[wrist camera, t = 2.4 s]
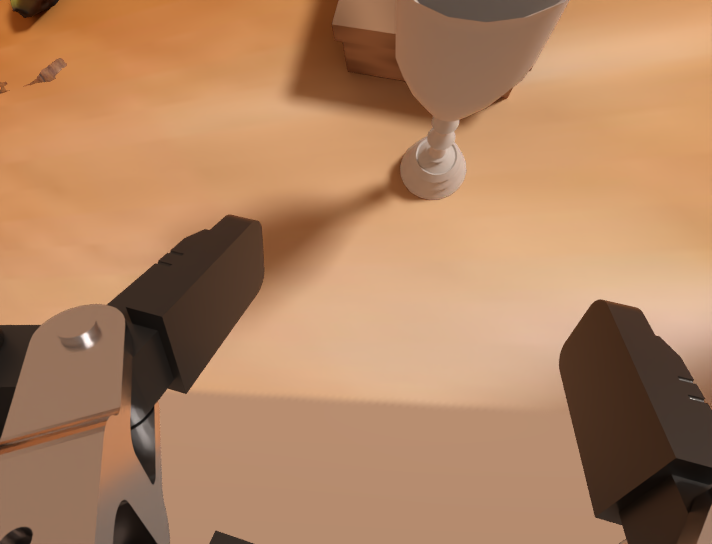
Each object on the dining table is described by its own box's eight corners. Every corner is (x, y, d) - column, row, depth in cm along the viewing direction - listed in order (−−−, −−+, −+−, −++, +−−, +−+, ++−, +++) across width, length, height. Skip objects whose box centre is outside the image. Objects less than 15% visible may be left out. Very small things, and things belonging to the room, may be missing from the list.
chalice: (413, 228, 28) (450, 65, 10) (370, 155, 29) (339, -101, 12) (497, 181, 28) (680, -63, 10) (451, 110, 29) (544, -219, 11)
